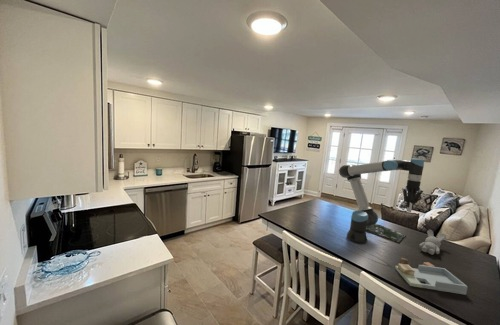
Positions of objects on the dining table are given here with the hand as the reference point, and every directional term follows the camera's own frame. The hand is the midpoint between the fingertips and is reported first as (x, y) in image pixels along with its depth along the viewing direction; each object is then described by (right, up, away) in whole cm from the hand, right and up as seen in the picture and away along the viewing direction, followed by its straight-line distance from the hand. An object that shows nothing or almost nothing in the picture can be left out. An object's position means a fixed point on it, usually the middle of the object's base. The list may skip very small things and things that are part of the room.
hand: (408, 211), depth 148 cm
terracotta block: (+1, -35, -15) cm, 38 cm away
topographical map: (+6, -29, +39) cm, 49 cm away
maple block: (-19, -32, -22) cm, 43 cm away
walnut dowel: (-14, -33, -13) cm, 39 cm away
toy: (+28, -33, +13) cm, 45 cm away
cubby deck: (-10, -35, -26) cm, 45 cm away
